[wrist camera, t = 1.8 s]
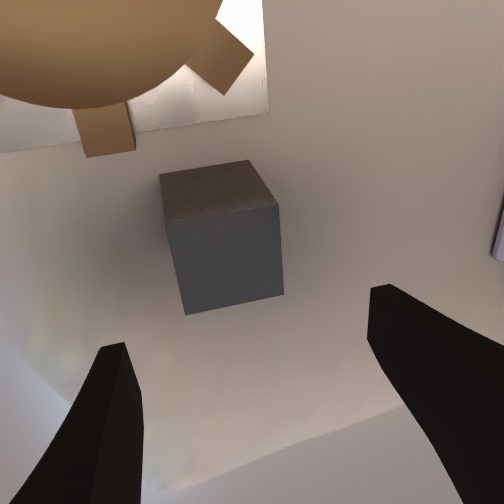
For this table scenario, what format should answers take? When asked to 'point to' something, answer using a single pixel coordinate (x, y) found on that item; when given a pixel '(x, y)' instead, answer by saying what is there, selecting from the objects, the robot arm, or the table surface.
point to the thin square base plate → (158, 95)
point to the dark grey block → (222, 235)
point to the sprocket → (110, 57)
